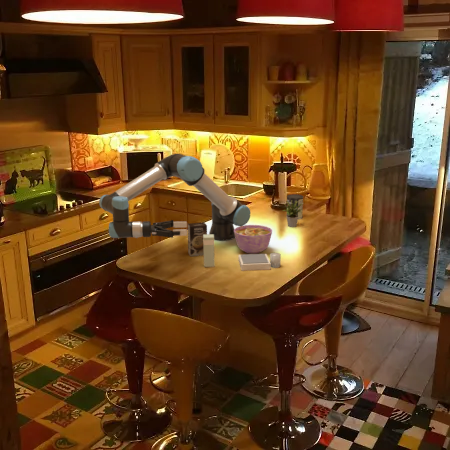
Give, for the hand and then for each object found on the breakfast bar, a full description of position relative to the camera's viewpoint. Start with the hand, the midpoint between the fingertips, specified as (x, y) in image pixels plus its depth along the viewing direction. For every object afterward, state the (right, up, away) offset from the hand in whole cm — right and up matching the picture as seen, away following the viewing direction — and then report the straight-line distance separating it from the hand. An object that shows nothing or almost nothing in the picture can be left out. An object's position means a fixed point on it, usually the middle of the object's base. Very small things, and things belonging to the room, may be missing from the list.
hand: (187, 228), depth 257 cm
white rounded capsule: (+43, -18, +5) cm, 47 cm away
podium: (+32, -18, +6) cm, 38 cm away
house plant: (+59, 0, +68) cm, 90 cm away
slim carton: (+10, -18, +7) cm, 22 cm away
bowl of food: (+33, -12, +26) cm, 43 cm away
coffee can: (+63, +6, +87) cm, 108 cm away
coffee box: (+4, -14, +22) cm, 27 cm away
